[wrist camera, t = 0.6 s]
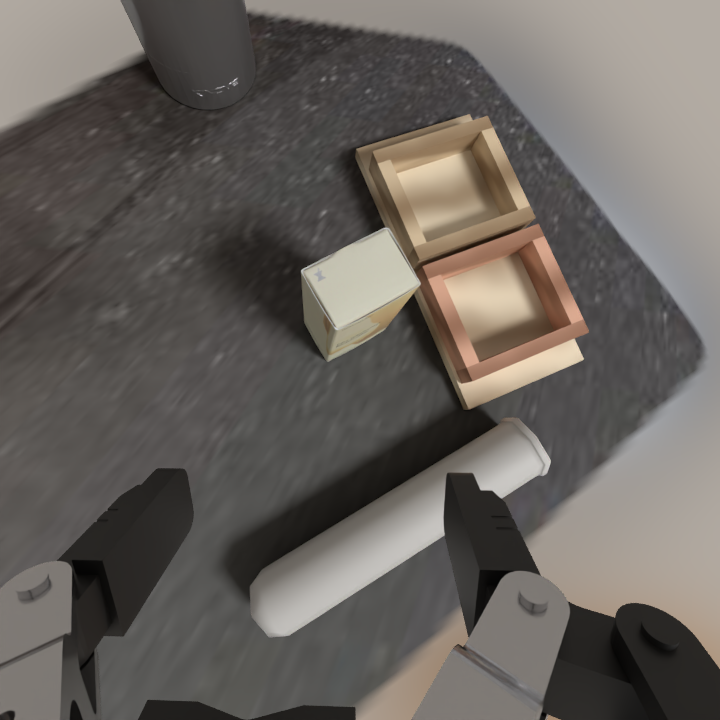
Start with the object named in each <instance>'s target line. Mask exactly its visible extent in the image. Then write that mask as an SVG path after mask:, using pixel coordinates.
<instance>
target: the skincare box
mask: <svg viewBox="0 0 720 720" xmlns="http://www.w3.org/2000/svg"><path fill="white" fill-rule="evenodd" d="M301 280H302V295H303V310H304V323H305V325H306V327H307V329H308V330H309V332H310V334H311V336H312V338H313V340H314V341H315V343H316V345H317V347H318V348H319V350H320V352H321V353H322V355H323V356H324V358H325V360H326V361H330V360H332V359H334V358H336V357H338V356H340V355H342V354H344V353H346V352H348V351H350V350H352V349H353V348H355V347H357V346H359V345H361V344H362V343H364V342H366V341H367V340H369V339H371V338H372V337H374V336H376V335H377V334H379V333H381V332H382V331H384V330H385V329H386V327H387V326H388V325H389V323H390V322H391V321H392V320H393V318H394V317H395V316H396V315H397V313H398V312H399V311H400V310H401V308H402V307H403V306H404V305H405V303H406V302H407V301H408V300H409V298H410V297H411V296H412V295H413V293H414V292H415V291H416V290H417V288H418V287H419V286H420V284H421V283H420V281H419V279H418V278H417V276H416V274H415V272H414V270H413V268H412V267H411V265H410V263H409V261H408V259H407V258H406V256H405V254H404V253H403V251H402V249H401V247H400V245H399V244H398V242H397V240H396V239H395V237H394V235H393V234H392V232H391V230H390V229H389V228H383V229H381V230H379V231H377V232H375V233H373V234H371V235H369V236H367V237H365V238H363V239H361V240H359V241H357V242H355V243H352V244H350V245H348V246H346V247H344V248H342V249H340V250H339V251H337V252H335V253H333V254H331V255H329V256H327V257H325V258H323V259H321V260H319V261H317V262H315V263H313V264H312V265H310V266H308V267H306V268H303V269H302V270H301Z"/></svg>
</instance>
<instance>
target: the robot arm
mask: <svg viewBox="0 0 720 720" xmlns="http://www.w3.org/2000/svg"><path fill="white" fill-rule="evenodd" d="M121 2H122V4H123V6H124V8H125V10H126V13H127V15H128V17H129V19H130V21H131V23H132V25H133V27H134V29H135V31H136V33H137V35H138V37H139V40H140V42H141V44H142V46H143V48H144V51H145V53H146V55H147V57H148V59H149V61H150V63H151V65H152V67H153V69H154V71H155V73H156V75H157V78H158V80H159V82H160V83H161V85H162V86H163V88H164V89H165V91H166V92H167V93H168V94H169V95H170V96H171V97H172V98H174V99H176V100H177V101H179V102H180V103H182V104H184V105H187V106H189V107H192V108H197V109H205V110H214V109H219V108H224V107H227V106H229V105H232V104H234V103H235V102H237V101H239V100H240V99H242V97H243V96H244V95H245V94H246V93H247V92H248V91H249V89H250V88H251V86H252V85H253V82H254V79H255V75H256V64H255V58H254V52H253V47H252V41H251V35H250V29H249V23H248V17H247V12H246V6H245V1H244V0H121ZM193 516H194V511H193V504H192V499H191V493H190V487H189V481H188V476H187V472H186V471H185V470H184V469H173V468H158V469H156V470H155V471H154V472H153V473H152V474H151V475H150V476H149V477H148V478H147V479H146V480H145V481H144V483H143V484H142V485H137V486H135V487H134V488H132V489H131V490H129V491H127V492H126V493H124V494H123V495H121V496H120V497H119V498H118V499H117V500H116V501H115V502H114V503H113V504H112V505H111V506H110V507H109V508H108V511H105V512H104V513H103V514H102V515H101V516H100V517H99V518H98V519H97V522H94V523H93V524H92V525H91V526H90V527H89V528H88V529H87V530H86V532H85V533H84V534H83V535H82V536H81V537H80V538H79V539H78V540H77V541H76V542H75V543H74V544H73V545H72V546H71V547H70V548H69V549H68V550H67V551H66V552H65V553H64V554H63V555H62V556H61V557H60V558H59V559H58V560H57V561H52V562H46V563H42V564H39V565H36V566H34V567H31V568H29V569H27V570H25V571H23V572H22V573H20V574H18V575H17V576H15V577H14V578H12V579H11V580H10V581H8V582H7V583H6V584H5V585H4V586H3V587H2V588H1V589H0V720H102V715H101V696H100V676H99V657H98V652H97V648H96V647H97V645H98V644H99V642H100V641H101V639H102V638H103V636H124V635H125V633H126V632H127V630H128V629H129V627H130V625H131V624H132V622H133V621H134V619H135V617H136V616H137V614H138V613H139V611H140V609H141V608H142V606H143V605H144V603H145V601H146V600H147V598H148V597H149V595H150V593H151V592H152V590H153V589H154V587H155V586H156V584H157V582H158V581H159V579H160V578H161V576H162V574H163V573H164V571H165V570H166V568H167V566H168V565H169V563H170V562H171V560H172V558H173V557H174V555H175V554H176V552H177V550H178V549H179V547H180V546H181V544H182V542H183V541H184V539H185V538H186V536H187V534H188V533H189V531H190V529H191V526H192V522H193ZM443 520H444V533H445V539H446V543H447V547H448V551H449V556H450V560H451V564H452V569H453V573H454V577H455V581H456V586H457V590H458V594H459V599H460V603H461V607H462V612H463V616H464V620H465V624H466V629H467V633H468V637H469V639H468V641H467V642H466V644H465V645H464V646H463V647H462V646H461V645H459V644H458V645H456V646H455V647H454V648H453V649H452V651H451V652H450V654H449V655H448V657H447V659H446V660H445V662H444V664H443V666H442V667H441V669H440V671H439V673H438V674H437V676H436V678H435V679H434V681H433V683H432V685H431V687H430V688H429V690H428V692H427V693H426V695H425V697H424V699H423V701H422V702H421V704H420V706H419V707H418V709H417V711H416V713H415V714H414V716H413V718H412V720H547V717H548V715H551V716H553V717H556V718H558V719H561V720H720V669H719V667H718V666H717V665H716V663H715V662H714V661H713V659H712V658H711V657H710V655H709V654H708V653H707V651H706V650H705V648H704V647H703V646H702V644H701V643H700V642H699V640H698V639H697V638H696V637H695V635H694V634H693V633H692V632H691V631H690V630H689V629H688V628H687V627H686V626H684V625H683V624H682V623H681V622H680V621H678V620H677V619H676V618H674V617H673V616H671V615H669V614H667V613H666V612H664V611H662V610H660V609H657V608H655V607H652V606H649V605H645V604H639V603H630V604H626V605H623V606H621V607H620V608H619V609H618V611H617V613H616V617H615V618H614V617H611V616H608V615H604V614H601V613H598V612H594V611H591V610H588V609H584V608H581V607H579V606H576V605H574V604H572V603H570V602H568V601H567V600H566V597H565V596H564V594H563V593H562V592H561V591H560V590H559V588H558V587H557V586H555V585H554V584H553V583H552V582H550V581H549V580H547V579H546V578H544V577H542V576H541V575H540V573H539V571H538V569H537V567H536V565H535V562H534V561H533V559H532V556H531V554H530V552H529V550H528V548H527V546H526V544H525V542H524V540H523V538H522V536H521V534H520V532H519V531H518V529H517V526H516V524H515V521H514V519H512V515H511V513H510V511H509V509H508V507H507V505H506V503H505V502H504V501H503V500H502V499H501V498H500V497H499V496H498V495H497V494H495V493H494V492H493V491H492V490H480V488H479V486H478V483H477V481H476V478H475V476H474V474H473V473H454V472H448V473H447V475H446V485H445V500H444V516H443ZM138 720H244V719H240V718H238V717H235V716H233V715H230V714H228V713H225V712H223V711H220V710H217V709H215V708H212V707H210V706H207V705H205V704H202V703H200V702H192V701H164V700H147V702H146V704H145V707H144V709H143V711H142V713H141V715H140V717H139V719H138ZM250 720H356V714H355V707H333V706H305V705H303V706H300V707H296V708H292V709H288V710H285V711H281V712H277V713H273V714H269V715H266V716H262V717H258V718H254V719H250Z"/></svg>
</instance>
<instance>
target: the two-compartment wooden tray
mask: <svg viewBox="0 0 720 720" xmlns="http://www.w3.org/2000/svg"><path fill="white" fill-rule="evenodd" d="M355 158H356V160H357V163H358V165H359V167H360V170H361V172H362V174H363V177H364V179H365V181H366V184H367V186H368V188H369V191H370V193H371V195H372V198H373V200H374V202H375V204H376V207H377V209H378V211H379V214H380V216H381V218H382V221H383V223H384V225H385V228H389V229H390V230H391V232H392V234H393V235H394V237H395V239H396V240H397V242H398V244H399V245H400V247H401V249H402V251H403V253H404V254H405V256H406V258H407V259H408V261H409V263H410V265H411V267H412V268H413V270H414V272H415V274H416V276H417V278H418V279H419V281H420V283H421V284H420V286H419V287H418V288H417V290H416V291H415V292H414V295H415V297H416V300H417V302H418V304H419V307H420V309H421V311H422V314H423V316H424V318H425V321H426V323H427V325H428V328H429V330H430V332H431V335H432V337H433V339H434V342H435V344H436V346H437V349H438V351H439V353H440V355H441V358H442V360H443V362H444V365H445V367H446V369H447V372H448V374H449V376H450V379H451V381H452V383H453V386H454V388H455V390H456V393H457V395H458V397H459V400H460V402H461V404H462V407H463V409H464V410H469V409H472V408H474V407H476V406H478V405H481V404H483V403H485V402H488V401H490V400H492V399H495V398H497V397H499V396H501V395H504V394H506V393H508V392H511V391H513V390H515V389H518V388H520V387H522V386H524V385H527V384H529V383H531V382H534V381H536V380H538V379H541V378H543V377H545V376H547V375H550V374H552V373H554V372H557V371H559V370H561V369H564V368H566V367H568V366H570V365H573V364H575V363H577V362H580V361H582V360H584V358H583V356H582V354H581V352H580V350H579V348H578V346H577V343H576V341H575V339H574V338H577V337H579V336H581V335H584V334H586V333H588V332H589V330H588V328H587V326H586V324H585V322H584V320H583V317H582V315H581V313H580V311H579V309H578V307H577V305H576V303H575V300H574V298H573V296H572V294H571V292H570V290H569V288H568V286H567V283H566V281H565V279H564V277H563V275H562V273H561V271H560V269H559V266H558V264H557V262H556V260H555V258H554V256H553V254H552V252H551V249H550V247H549V245H548V243H547V241H546V239H545V237H544V235H543V233H542V230H541V228H540V226H539V224H537V225H534V226H531V227H529V228H526V229H524V228H525V227H526V226H527V225H528V224H529V223H531V222H532V221H533V220H534V219H535V216H534V213H533V211H532V209H531V207H530V205H529V203H528V201H527V199H526V196H525V194H524V192H523V190H522V188H521V186H520V184H519V182H518V179H517V177H516V175H515V173H514V171H513V169H512V167H511V165H510V162H509V160H508V158H507V156H506V154H505V152H504V150H503V148H502V145H501V143H500V141H499V139H498V137H497V135H496V133H495V131H494V128H493V126H492V124H491V122H490V120H489V118H488V116H485V117H482V118H479V119H476V120H472V118H471V116H470V114H469V115H465V116H462V117H459V118H456V119H452V120H449V121H446V122H443V123H439V124H436V125H433V126H429V127H426V128H423V129H420V130H416V131H413V132H410V133H406V134H403V135H400V136H397V137H393V138H390V139H387V140H384V141H380V142H377V143H374V144H370V145H367V146H364V147H361V148H357V149H356V155H355Z"/></svg>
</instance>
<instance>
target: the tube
mask: <svg viewBox="0 0 720 720" xmlns="http://www.w3.org/2000/svg"><path fill="white" fill-rule="evenodd" d="M550 463H551V460H550V458H549V457H548V455H547V453H546V452H545V450H544V448H543V446H542V445H541V443H540V441H539V440H538V438H537V437H536V436H535V435H534V434H533V433H532V432H531V431H530V430H529V429H528V428H527V427H526V426H525V425H524V424H523V423H522V422H521V421H520V420H519V419H518V418H503V419H502V420H501V422H500V424H499V425H498V426H496V427H494V428H493V429H491V430H489V431H488V432H486V433H484V434H483V435H481V436H480V437H478V438H476V439H475V440H473V441H471V442H470V443H468V444H466V445H465V446H463V447H462V448H460V449H458V450H457V451H455V452H453V453H452V454H450V455H448V456H447V457H445V458H443V459H442V460H440V461H439V462H437V463H435V464H434V465H432V466H430V467H429V468H427V469H425V470H424V471H422V472H421V473H419V474H417V475H416V476H414V477H412V478H411V479H409V480H407V481H406V482H404V483H403V484H401V485H399V486H398V487H396V488H394V489H393V490H391V491H389V492H388V493H386V494H384V495H383V496H381V497H380V498H378V499H376V500H375V501H373V502H371V503H370V504H368V505H366V506H365V507H363V508H362V509H360V510H358V511H357V512H355V513H353V514H352V515H350V516H348V517H347V518H345V519H343V520H342V521H340V522H339V523H337V524H335V525H334V526H332V527H330V528H329V529H327V530H325V531H324V532H322V533H321V534H319V535H317V536H316V537H314V538H312V539H311V540H309V541H307V542H306V543H304V544H303V545H301V546H299V547H298V548H296V549H294V550H293V551H291V552H289V553H288V554H286V555H284V556H283V557H281V558H280V559H278V560H276V561H275V562H273V563H271V564H270V565H268V566H266V567H265V568H263V569H262V570H261V571H260V573H259V574H258V576H257V577H256V578H255V580H254V581H253V583H252V584H251V585H250V606H251V617H252V618H253V619H254V620H255V621H256V623H257V624H258V625H259V626H260V627H261V628H262V629H263V631H264V632H265V633H266V634H267V636H268V637H278V636H289V635H290V634H292V633H293V632H295V631H297V630H298V629H300V628H301V627H303V626H304V625H306V624H307V623H309V622H311V621H312V620H314V619H315V618H317V617H318V616H320V615H321V614H323V613H325V612H326V611H328V610H329V609H331V608H332V607H334V606H335V605H337V604H338V603H340V602H342V601H343V600H345V599H346V598H348V597H349V596H351V595H352V594H354V593H356V592H357V591H359V590H360V589H362V588H363V587H365V586H366V585H368V584H370V583H371V582H373V581H374V580H376V579H377V578H379V577H380V576H382V575H384V574H385V573H387V572H388V571H390V570H391V569H393V568H394V567H396V566H397V565H399V564H401V563H402V562H404V561H405V560H407V559H408V558H410V557H411V556H413V555H415V554H416V553H418V552H419V551H421V550H422V549H424V548H425V547H427V546H429V545H430V544H432V543H433V542H435V541H436V540H438V539H439V538H441V537H442V536H444V535H445V533H444V520H443V516H444V500H445V485H446V475H447V473H448V472H454V473H473V474H474V476H475V478H476V481H477V483H478V486H479V488H480V490H492V491H493V492H494V493H495V494H497V495H498V496H499V497H500V498H503V497H505V496H506V495H508V494H509V493H511V492H512V491H514V490H515V489H517V488H519V487H520V486H522V485H523V484H525V483H526V482H528V481H529V480H531V479H532V478H534V477H536V476H538V475H541V476H543V475H545V474H546V473H547V472H548V469H549V466H550Z"/></svg>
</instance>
